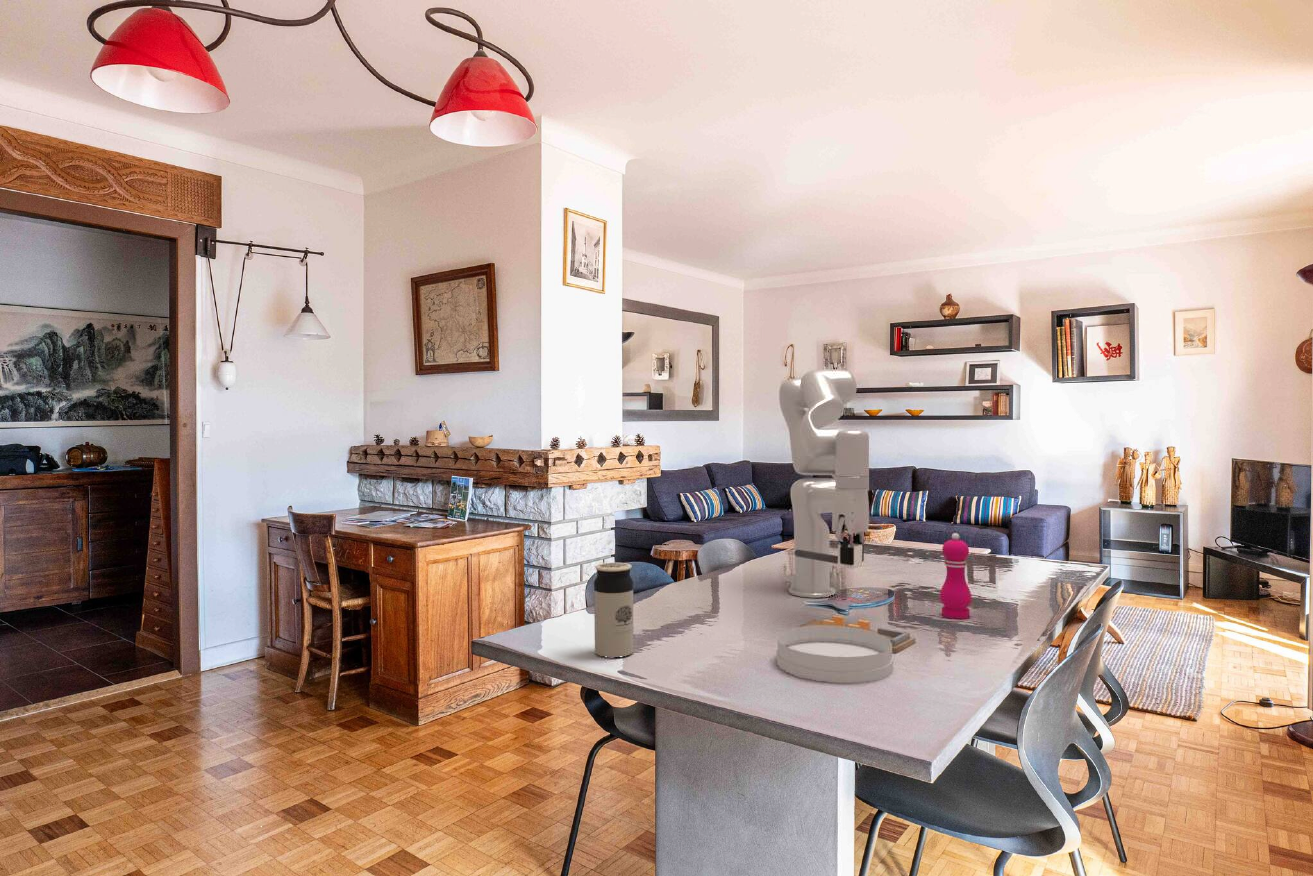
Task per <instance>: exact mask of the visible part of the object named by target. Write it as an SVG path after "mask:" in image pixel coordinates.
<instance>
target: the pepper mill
mask: <svg viewBox="0 0 1313 876" xmlns="http://www.w3.org/2000/svg"><path fill="white" fill-rule="evenodd" d="M941 551H942V554H943V556H944V557H945V558H944V560H943V561H944V566H945V567H946V577H945V580H944V583H943V584H942V587H941V589H940V591H939V600H940V602H941V603H942V604H943V606H942V607H941V615H942V616H943V617H945V618H948V619H954V620H955V619H956V620H961V619H962V620H965V619H969V618H970V612H971V611H970V608H968V607H969V606H970V604H971V603H972V600H973V599H972V592H971V590H970V587H969V586H968V584H967V581H966V577H965V576H966V575H965V570H966V569H965V568H967V562H968V561H967V560H966V559H967V557H968V556H969V554H970V549H969V545H968V544H967V543H966V542H964V541H963V540H961V539H960V534H959V533H952V535H951V539H950V540H949V539H948V540H947V541H945V542H944V543H943V544H942V550H941ZM968 617H969V618H968Z"/></svg>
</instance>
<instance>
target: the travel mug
mask: <svg viewBox="0 0 1313 876" xmlns="http://www.w3.org/2000/svg"><path fill="white" fill-rule="evenodd" d="M632 567H633V566H632V565H631V564H630V563H627V562H603V563H598V564H596V565H595V566H594V569H596V570H595V571H596V575H597V576H596V577H595V579H594V582H593V588H594V592H593V593H594V595H593V596H594V597H593V599H594V600H593V601H594V602H593V605H594V609H593V610H594V614H593V616H594V618H593V619H594V653H595V654H596V655H597V654H598V655H597V656H599V655H600V656H599V657H601V656H607V657H620V656H625V657H628V656H630V655H632V654H633V653H634V645H635V644H634V643H635V641H634V639H635V638H634V637H635V636H634V635H635V634H634V580H633V578H632V576H631V575H630V574H631V569H632ZM627 655H628V656H627Z"/></svg>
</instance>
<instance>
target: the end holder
mask: <svg viewBox="0 0 1313 876" xmlns="http://www.w3.org/2000/svg"><path fill="white" fill-rule="evenodd" d="M877 631H878V634H880V635H886V636H891V637H895V638H893V639H891V638H888V639H889V640H890V641H891V643H892V646H897V645H899V644H901V643H903V642H905V641H906V640H908V639H910V637H911V633H910V632H906V631H901V630H896V629H890V628H889V629H888V628H885V627H878V628H877Z"/></svg>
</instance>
